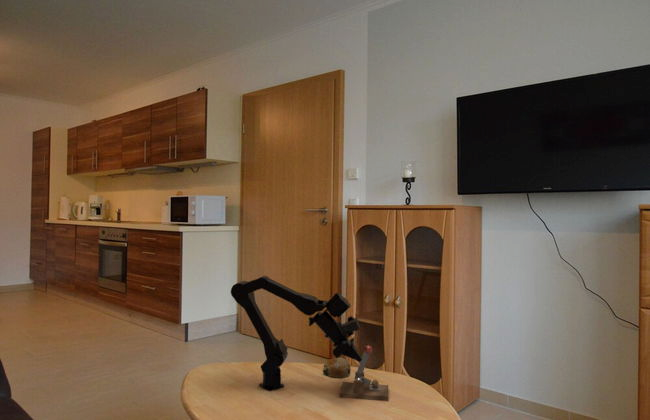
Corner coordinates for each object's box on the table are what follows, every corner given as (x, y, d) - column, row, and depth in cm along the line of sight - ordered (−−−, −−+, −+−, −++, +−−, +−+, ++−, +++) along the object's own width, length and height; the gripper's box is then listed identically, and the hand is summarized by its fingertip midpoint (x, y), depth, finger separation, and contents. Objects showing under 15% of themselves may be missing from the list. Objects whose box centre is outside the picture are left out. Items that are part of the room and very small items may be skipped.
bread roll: (342, 389, 168) (352, 370, 167) (318, 375, 170) (328, 356, 169) (347, 379, 178) (356, 361, 177) (323, 366, 179) (332, 348, 179)
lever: (351, 383, 153) (365, 346, 152) (352, 377, 159) (366, 341, 158) (368, 390, 152) (382, 353, 151) (369, 384, 158) (382, 348, 157)
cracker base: (339, 397, 151) (339, 380, 151) (342, 386, 161) (342, 370, 161) (388, 401, 149) (388, 384, 149) (388, 389, 159) (388, 373, 159)
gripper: (343, 316, 147) (377, 353, 145) (348, 305, 165) (378, 337, 164) (319, 339, 148) (352, 376, 146) (326, 325, 166) (356, 358, 165)
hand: (361, 360), depth 155 cm, fingers closed, pressing on lever
